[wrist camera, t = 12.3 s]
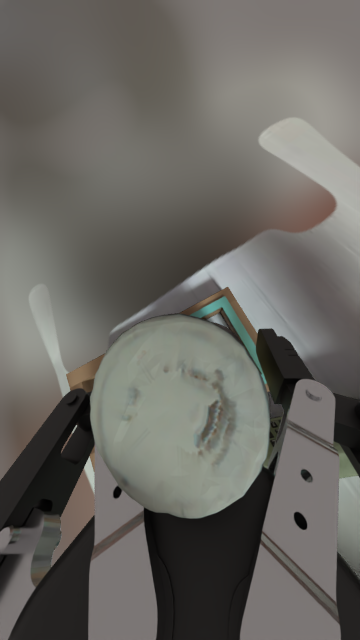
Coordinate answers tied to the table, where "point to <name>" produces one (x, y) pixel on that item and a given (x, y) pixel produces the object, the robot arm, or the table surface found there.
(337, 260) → the table surface
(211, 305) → the brown double window frame
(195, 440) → the sauce bottle
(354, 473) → the grey-green long slab
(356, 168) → the table surface
